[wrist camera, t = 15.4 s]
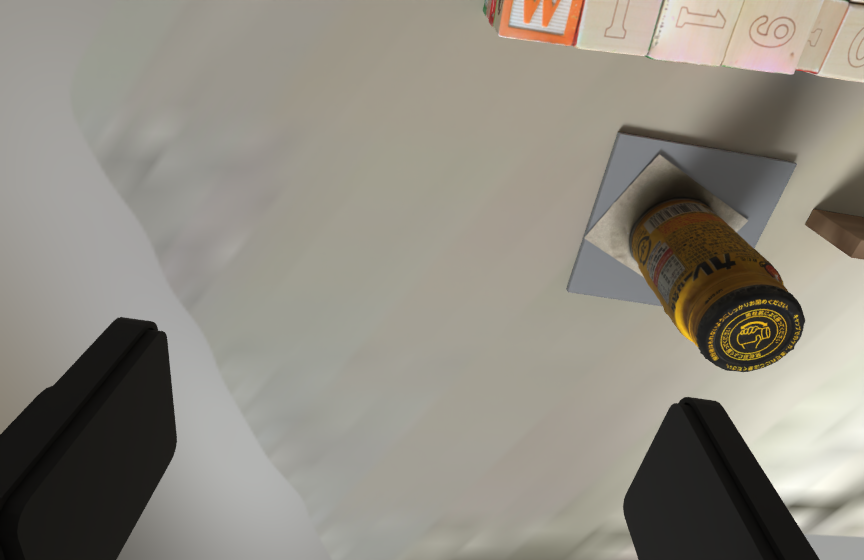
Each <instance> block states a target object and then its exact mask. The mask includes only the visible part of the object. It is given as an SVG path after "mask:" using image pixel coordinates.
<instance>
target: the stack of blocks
mask: <svg viewBox="0 0 864 560" xmlns="http://www.w3.org/2000/svg"><path fill="white" fill-rule="evenodd" d="M483 12H484V14H485V16H486V17H487V18H488V19H489V23H490V24H491V26H492V27H493V28H495V30H496V32H497V33H498V35H499V36H500V37H506V38H513V39H520V40H528V41H536V42H543V43H551V44H558V45H565V46H571V45H572V46H574V47H575V48H579V49H586V50H595V51H604V52H613V53H622V54H631V55H640V56H646V57H648V58H650V59H654V60H661V61H670V62H679V63H687V64H696V65H704V66H724V67H729V68H737V69H746V70H755V71H763V72H771V73H781V74H788V75H792V74H794V72H795V70H798V71H804V72H807V73H810V74H813V75H816V76H821V77H828V78H834V79H841V80H847V81H855V82H863V83H864V0H485V3H484V8H483Z"/></svg>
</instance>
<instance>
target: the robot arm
mask: <svg viewBox="0 0 864 560" xmlns="http://www.w3.org/2000/svg"><path fill="white" fill-rule="evenodd" d="M176 443H177V436H176V425H175V415H174V405H173V395H172V384H171V375H170V364H169V353H168V343H167V336H166V334H165V332H163V331H158V328H157V325H156V324H155V323H154V322H151V321H144V320H137V319H129V318H123V317H120V318H117V319H116V320H115V321H113V322H112V323H111V324H110V326H109V327H108V328H107V329H106V330H105V331H104V332H103V333H102V334H101V335H100V336H99V337H98V338H97V339H96V341H95V342H94V343H93V344H92V345H91V346H90V347H89V348H88V349H87V350H86V351H85V352H84V353H83V355H81V357H80V358H79V359H78V360H77V361H76V362H75V363H74V364H73V365H72V366H71V367H70V368H69V370H67V372H66V373H65V374H64V375H63V376H62V377H61V378H60V379H59V380H58V381H57V382H56V383H55V384H54V385H53V386H51V387H49V388H46V389H45V390H44V391H42V392H41V393H40V394H39V395H38V396H37V397H36V398H35V399H34V400H33V401H32V402H31V403H30V404H29V405H28V406H27V407H26V408H25V409H24V411H22V413H21V414H20V415H19V416H18V417H17V418H16V419H15V420H14V421H13V422H12V423H11V424H10V425H9V426H8V427H7V428H6V430H4V432H3V433H2V434H1V435H0V560H116V559H117V557H118V555H119V554H120V552H121V550H122V548H123V546H124V545H125V543H126V541H127V539H128V537H129V536H130V534H131V532H132V530H133V528H134V527H135V525H136V523H137V521H138V519H139V518H140V516H141V514H142V512H143V510H144V509H145V507H146V505H147V503H148V501H149V500H150V498H151V496H152V494H153V492H154V490H155V489H156V487H157V485H158V483H159V481H160V479H161V478H162V476H163V474H164V473H165V471H166V469H167V467H168V465H169V463H170V462H171V460H172V458H173V455H174V452H175V449H176ZM623 510H624V516H625V519H626V522H627V526H628V529H629V532H630V535H631V538H632V541H633V544H634V547H635V550H636V553H637V556H638V559H639V560H819V558H818V556H817V555H816V553H815V552H814V550H813V548H812V547H811V546H810V544H809V542H808V541H807V539H806V537H805V536H804V534H803V533H802V531H801V529H800V528H799V526H798V525H797V523H796V522H795V520H794V518H793V517H792V515H791V514H790V512H789V511H788V509H787V507H786V506H785V504H784V503H783V501H782V500H781V498H780V496H779V495H778V493H777V492H776V490H775V488H774V487H773V485H772V484H771V482H770V481H769V479H768V477H767V476H766V474H765V473H764V471H763V470H762V468H761V466H760V465H759V463H758V462H757V460H756V459H755V457H754V455H753V454H752V452H751V451H750V449H749V447H748V446H747V444H746V443H745V441H744V440H743V438H742V436H741V435H740V433H739V432H738V430H737V429H736V427H735V425H734V424H733V422H732V421H731V419H730V417H729V416H728V414H727V413H726V411H725V410H724V408H723V407H722V405H721V404H720V403H718V402H716V401H712V400H705V399H698V398H691V397H684V398H683V399H681V400H680V402H679V403H675V404H673V405H671V407H670V408H669V410H668V412H667V414H666V416H665V418H664V420H663V422H662V424H661V426H660V428H659V430H658V432H657V434H656V436H655V438H654V440H653V442H652V444H651V446H650V448H649V450H648V452H647V454H646V456H645V458H644V460H643V462H642V464H641V466H640V468H639V470H638V472H637V474H636V476H635V478H634V480H633V482H632V483H631V485H630V487H629V489H628V491H627V493H626V496H625V498H624V504H623Z"/></svg>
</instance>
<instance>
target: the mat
mask: <svg viewBox="0 0 864 560" xmlns="http://www.w3.org/2000/svg"><path fill="white" fill-rule="evenodd" d="M659 154H660V155H661V156H662V157H664V158H665V159H666V160H668V161H669V162H670V163H672V164H673V165H674V166H676V167H677V168H678V169H680V170H681V171H683V172H684V173H685V174H687V175H688V176H689V177H691V178H692V179H693V180H694V181H696V182H697V183H699V184H700V185H701V186H703V187H704V188H705V189H707V190H708V191H709V192H711V193H712V194H713V195H715V196H716V197H717V198H719V199H720V200H721V201H723V202H724V203H725V204H727V205H728V206H729V207H731V208H732V209H733V210H735V211H736V212H738V213H739V214H740V215H742V216H743V217H744V218H746V219H747V220H748V222H747V223H746V224H745V225H744V226H743V227H742V228H741V229H740V230H739V231H737V233H738V234H739V235H740V236H741V237H742V238H743V239H744V240H745V241H746V242H747V243H748V244H750V245H751V246H752V247H753V248H755V246H756V244H757V242H758V240H759V238H760V236H761V234H762V232H763V230H764V228H765V226H766V224H767V222H768V220H769V218H770V216H771V215H772V213H773V211H774V209H775V207H776V205H777V203H778V201H779V199H780V197H781V195H782V193H783V191H784V189H785V187H786V185H787V183H788V181H789V179H790V177H791V175H792V173H793V171H794V169H795V167H796V165H797V164H796V163H794V162H791V161H785V160H780V159H774V158H768V157H762V156H756V155H750V154H745V153H739V152H733V151H727V150H721V149H715V148H710V147H704V146H698V145H692V144H686V143H680V142H674V141H669V140H663V139H657V138H651V137H645V136H639V135H634V134H628V133H622V132H618V134H617V137H616V140H615V143H614V146H613V149H612V152H611V155H610V158H609V161H608V164H607V167H606V170H605V173H604V176H603V179H602V182H601V185H600V188H599V191H598V194H597V197H596V200H595V203H594V207H593V210H592V213H591V216H590V219H589V222H588V225H587V228H586V231H585V234H584V237H585V236H586V235H587V234H588V233H589V232H590V231H591V229H592V228H593V227H594V226H595V225H596V223H597V222H598V221H599V220H600V219H601V218H602V217H603V216H604V215H605V214H606V212H607V211H608V210H609V209H610V207H611V206H612V204H613V203H615V202H616V201H617V200H618V199H619V197H620V196H621V195H622V194H623V193H624V192H625V191H626V189H627V188H628V187H629V186H630V185H631V184H632V183H633V182H634V181H635V180H636V179H637V177H638V176H639V175H640V174H641V173H642V172H643V171H644V170H645V169H646V167H647V166H649V165H650V164H651V163H652V162H653V161H654V160H655V158H656V157H657V156H658V155H659ZM626 229H627V228H626ZM627 234H628V233H627ZM584 237H583V240H582V243H581V246H580V249H579V252H578V255H577V258H576V261H575V264H574V267H573V270H572V273H571V276H570V279H569V282H568V285H567V288H566V289H567V291H568V292H571V293H578V294H584V295H591V296H598V297H604V298H611V299H618V300H624V301H631V302H637V303H644V304H651V305H657V306H663V305H661V303H660V300H659V299H658V298H657V297H656V295H655V293H654V292H653V291H652V289H651V288H650V287H649V286H648V284H647V282H646V280H645V278H644V277H643V276H641V275H640V274H638V273H637V272H635V271H634V270H632V269H630V268H629V267H627V266H626V265H624V264H622V263H621V262H620V261H618V260H616V259H615V258H613V257H612V256H611V255H609V254H607V253H605V252H604V251H603V250H601V249H600V248H598V247H597V246H595V245H593V244H592V243H591V242H589V241H588V240H586V239H585V238H584Z"/></svg>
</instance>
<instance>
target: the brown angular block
mask: <svg viewBox="0 0 864 560" xmlns="http://www.w3.org/2000/svg"><path fill="white" fill-rule="evenodd" d="M805 225H806V226H808V227H809V228H810V229H812V230H813V231H815V232H816V233H817V234H819V235H820V236H822V237H823V238H824V239H826V240H827V241H829V242H830V243H831V244H833V245H834V246H836V247H837V248H838V249H840V250H841V251H843V252H844V253H845V254H847V255H848V256H850V257H852V258H858V259H864V217H859V216H853V215H847V214H840V213H834V212H828V211H822V210H816V209H813V211H812V213H811V215H810V217H809V218H808V220H807V222H806V224H805Z"/></svg>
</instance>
